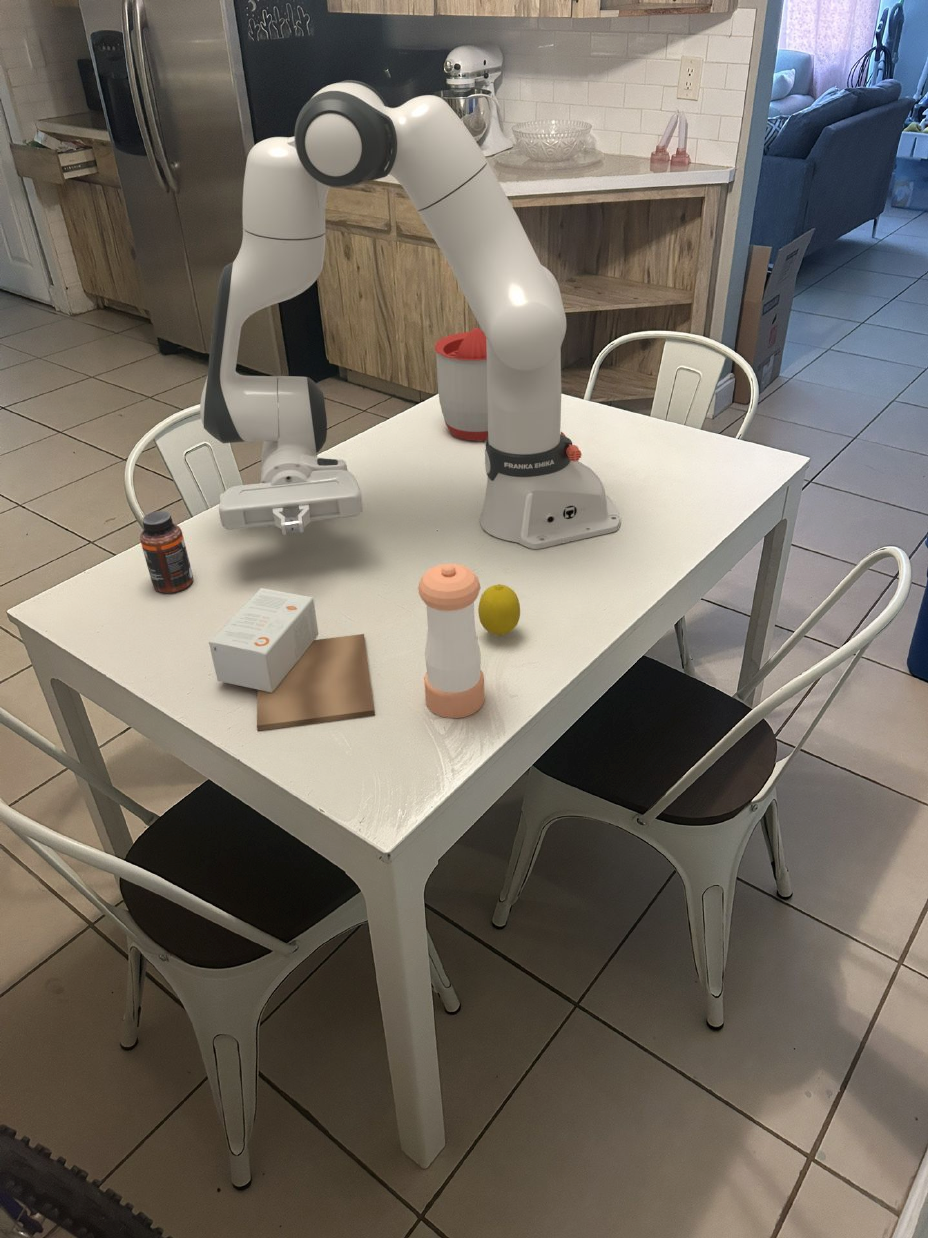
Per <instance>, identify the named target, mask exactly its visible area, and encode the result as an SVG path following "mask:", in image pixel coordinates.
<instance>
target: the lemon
mask: <svg viewBox="0 0 928 1238" xmlns="http://www.w3.org/2000/svg"><path fill="white" fill-rule="evenodd" d="M477 612H478V618H479V622H480V624H481V625H482V627H483V629H485V631H486V632H488V633H490V634H492V635H493V636H495V635H496V636H498V635H499V636H498V637H501V636H504V635H507V634H509V633H511V632H512V631H513V630H514V629H515V628H516V627H517V626H518V624H519V621H520V617H521V605H520V601H519V597H518V596H517V594H516V592H515V591H514V589H513V588H511V587H510V586H507V585H504V584H494V585H492V586H489V587H487V588H486V589H485V590H484V591H483V592H482V594H481V595H480V598H479V602H478V609H477Z"/></svg>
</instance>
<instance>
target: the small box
mask: <svg viewBox="0 0 928 1238" xmlns="http://www.w3.org/2000/svg"><path fill="white" fill-rule="evenodd" d="M318 636H319V628H318V622H317V613H316V607H315V600H314V597H313V596H306V595H302V594H301V595H300V594H296V593H290V592H286V591H285V592H284V591H280V590H279V591H278V590H273V589H268V588H263V587H261V588H259V589H258V590H257V591H256V593H254V595H252V597H251V598H250V599H249V600H248V601H246V603H245V604H244V605H243V606H242V607H241V608H240V609H239V610H238V611H237V612H236V613H235V615H233V617H231V618H230V620H228V621H227V623H226V624H225V625H223V627H222V628H221V629H220V630H219V631H218V632H217V633H216V634H215V635H214V636H213V637H212V638H211V639H210V641H209V642H208V644H209V648H210V653H211V658H212V661H213V667H214V671H215V675H216V679H217V681H218V682H221V683H224V684H229V685H234V686H239V687H243V688H249V689H254V690H257V691H258V690H261V691H266V692H271V693H272V692H273V691H274V690H275V689H276V687H277V686H278V685H279V684H280V682H281V681H282V680H283V679H284V678H285V676H286V675H287V674H288V672H289V671H290V670H291V669H292V667H293V666H294V665H295V664H296V662H297V661H298V660H299V659H300V658H301V656H302V655H303V654H304V653H305V651H306V650H307V649H308V647H309V646H310V645H311V644H312V642H313V641H314V640H317V638H318Z"/></svg>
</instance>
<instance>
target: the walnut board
mask: <svg viewBox="0 0 928 1238" xmlns="http://www.w3.org/2000/svg"><path fill="white" fill-rule="evenodd" d="M365 638H366V637H365V633H360V634H351V635H344V636H337V637H329V638H327V637H326V638H321V639H315V640H314V641H313V642H312V644H311V645H310V646H309V647H308V649H307V650H306V651H305V653H304V654H303V655H302V656H301V658H300V659H299V660H298V661H297V662H296V664H295V665H294V666H293V667H292V669H291V670H290V671H289V672H288V674H287V675H286V676H285V678H284V679H283V680H282V681H281V682H280V684H279V685H278V686H277V687H276V689H275V690H274V691H273V692H272V693H271V692H266V691H261V690H257V702H256V703H257V705H256V728H257V732H258V731H261V732H262V731H266V730H267V731H268V730H275V729H282V728H283V729H284V728H288V727H297V726H305V725H311V724H316V723H318V724H320V723H326V722H334V721H340V720H348V719H349V720H350V719H356V718H365V717H370V716H371V717H372V716H375V715H376V714H375V706H374V700H373V692H372V682H371V677H370V675H371V674H370V668H369V667H370V666H369V660H368V653H367V646H366V639H365Z"/></svg>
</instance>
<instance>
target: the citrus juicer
mask: <svg viewBox="0 0 928 1238" xmlns="http://www.w3.org/2000/svg"><path fill="white" fill-rule="evenodd" d="M433 348H434V351H435V355H436V374H437V391H438V399H439V403H440V404H439V405H440V410H441V413H442V415H443V419H444V423H445V426H446V427H447V429H448V431H449V433H450V434H451V435H453V436H454V437H456V438H459V439H461V440H467V441H480V442H486V439H487V437H488V401H487V342H486V336H485V334H484V333H483V331H482V329H481V328H478V327H474V328H473V329H472V330H471V331H464V332H459V333H458V332H457V333H454V334H450V335H447V336H445V337H442V338H440V339H439V340H437V341H436V343H435V344H434V347H433Z"/></svg>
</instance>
